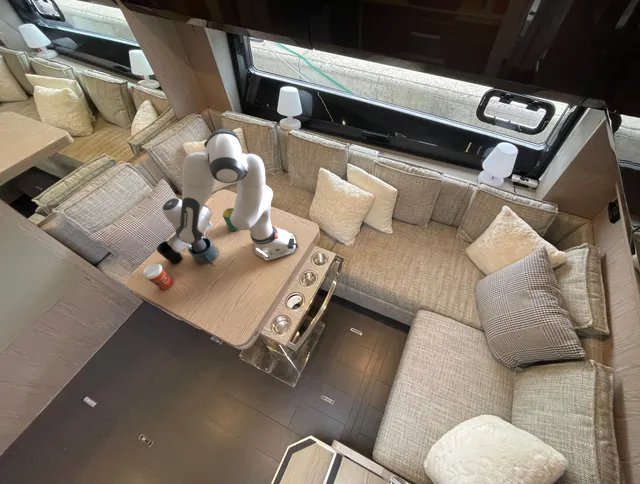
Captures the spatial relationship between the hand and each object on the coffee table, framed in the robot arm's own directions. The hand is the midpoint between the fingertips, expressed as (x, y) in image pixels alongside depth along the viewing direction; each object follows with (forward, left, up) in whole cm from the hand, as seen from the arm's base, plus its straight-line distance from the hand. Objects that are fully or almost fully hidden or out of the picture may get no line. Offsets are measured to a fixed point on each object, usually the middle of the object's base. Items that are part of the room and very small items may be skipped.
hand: (197, 243), depth 139 cm
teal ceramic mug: (-1, +2, -11) cm, 12 cm away
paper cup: (+17, +14, -12) cm, 25 cm away
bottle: (0, 0, -6) cm, 6 cm away
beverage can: (-14, -18, -12) cm, 26 cm away
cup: (+15, 0, -12) cm, 19 cm away
